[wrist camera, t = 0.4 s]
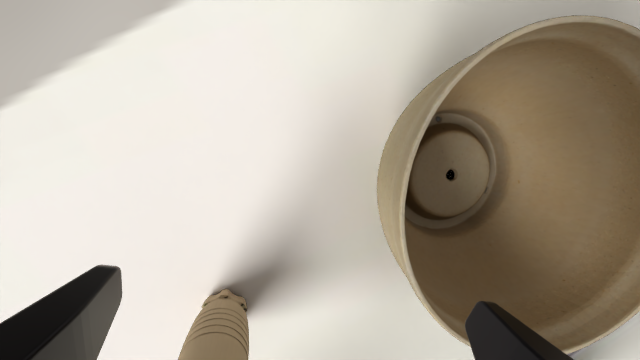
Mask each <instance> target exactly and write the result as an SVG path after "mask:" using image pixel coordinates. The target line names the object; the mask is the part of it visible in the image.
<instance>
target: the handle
mask: <svg viewBox="0 0 640 360" xmlns="http://www.w3.org/2000/svg"><path fill="white" fill-rule="evenodd" d="M202 308H203V309H202V310H201V312H200V313H199V315H198V316H197V317H196V319H195V321H194V323H193V325H192V327H191V329H190V331H189V333H188V335H187V337H186V340H185V342H184V344H183V347H182V350H181V352H180V355H179V358H178V360H248V354H249V329H248V321H247V315H246V313H245V312H246V311H247V305H246V301H245V299H244V298H243V297H241V296H240V297H239V296H236V295H234V294H233V293H231V292H230V290H229V289H224V290H222V291H221V292H220V293H219V294H217V295H211V296H209V297H208V298H207V299H206V300H205V302H204V304H203V305H202Z"/></svg>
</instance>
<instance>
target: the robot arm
mask: <svg viewBox="0 0 640 360" xmlns="http://www.w3.org/2000/svg"><path fill="white" fill-rule="evenodd" d="M121 298H122V280H121V270H120V268H119V267H117V266H109V265H98V266H95V267H94V268H92V269H90V270H89V271H87V272H85V273H84V274H82V275H80V276H79V277H77V278H75V279H73V280H72V281H70V282H68V283H67V284H65V285H63V286H62V287H60V288H58V289H57V290H55V291H53V292H52V293H50V294H48V295H47V296H45V297H43V298H42V299H40V300H38V301H37V302H35V303H33V304H32V305H30V306H28V307H27V308H25V309H23V310H22V311H20V312H18V313H17V314H15V315H13V316H12V317H10V318H8V319H7V320H5V321H3V322H2V323H0V360H97V357H98V355H99V352H100V350H101V348H102V345H103V343H104V341H105V338H106V336H107V334H108V331H109V329H110V327H111V324H112V322H113V319H114V317H115V315H116V312H117V310H118V308H119V305H120V302H121ZM465 330H466V333H467V336H468V339H469V342H470V345H471V348H472V351H473V355H474V358H475V360H573V359H572V358H571V357H569V356H568V355H567V354H565V353H564V352H562V351H561V350H560V349H558V348H557V347H555V346H554V345H553V344H551V343H550V342H549V341H547V340H546V339H544V338H543V337H542V336H540V335H539V334H538V333H536V332H535V331H533V330H532V329H531V328H529V327H528V326H527V325H525V324H524V323H522V322H521V321H520V320H518V319H517V318H516V317H514V316H513V315H511V314H510V313H509V312H507V311H506V310H504V309H503V308H502V307H500V306H499V305H498V304H496V303H494V302H490V301H479V302H477V303H476V304H475V306H474V308H473V309H472V311H471V313H470V314H469V316H468V317H467V319H466V321H465Z"/></svg>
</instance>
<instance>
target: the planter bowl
mask: <svg viewBox="0 0 640 360" xmlns="http://www.w3.org/2000/svg"><path fill="white" fill-rule="evenodd" d="M449 170H453V172H454V178H453V179H452V180H449V179H447V177H446V174H447V172H448V171H449ZM377 200H378V209H379V215H380V220H381V224H382V227H383V231H384V234H385V237H386V240H387V242H388V245H389V247H390V249H391V251H392V253H393V255H394V257H395V259H396V261H397V262H398V264H399V266H400V268H401V269H402V271H403V272H404V274H405V275H406V277H407V278H408V280H409V282H410V284H411V286H412V288H413V290H414V291H415V293H416V295H417V297H418V298H419V300H420V301H421V302H422V304H423V305H424V307H425V308H426V309H427V310H428V312H429V313H430V314H431V315H432V317H433V318H434V319H435V320H436V321H437V322H438V323H439V324H440V325H441V326H442V327H443V328H444V329H445V330H447V331H448V332H449V333H450V334H451V335H452V336H454V337H455V338H457V339H458V340H459V341H461V342H463V343H465V344H466V345H468V346H470V347H471V345H470V342H469V339H468V336H467V333H466V330H465V321H466V319H467V317H468V316H469V314H470V313H471V311H472V309H473V308H474V306H475V304H476V303H477V302H479V301H490V302H494V303H496V304H498V305H499V306H500V307H502V308H503V309H504V310H506V311H507V312H509V313H510V314H511V315H513V316H514V317H516V318H517V319H518V320H520V321H521V322H522V323H524V324H525V325H527V326H528V327H529V328H531V329H532V330H533V331H535V332H536V333H538V334H539V335H540V336H542V337H543V338H544V339H546V340H547V341H549V342H550V343H551V344H553V345H554V346H555V347H557V348H558V349H560V350H561V351H562V352H564V353H565V354H569V353H572V352H574V351H577V350H580V349H582V348H584V347H587V346H589V345H591V344H592V343H594V342H596V341H598V340H600V339H602V338H603V337H605V336H607V335H608V334H610V333H612V332H613V331H615V330H616V329H617V328H619V327H620V326H622V325H623V324H624V323H626V322H627V321H628V320H630V319H631V318H632V317H633V316H634V315H635V314H637V313H638V312H639V311H640V30H639V29H637V28H636V27H633V26H631V25H628V24H625V23H623V22H620V21H617V20H613V19H609V18H603V17H596V16H565V17H558V18H552V19H547V20H543V21H539V22H536V23H533V24H530V25H527V26H525V27H523V28H520V29H518V30H515V31H513V32H511V33H509V34H506V35H505V36H503V37H501V38H499V39H497V40H495V41H494V42H492V43H490V44H489V45H487V46H486V47H484V48H482V49H481V50H480V51H478V52H477V53H476V54H474V55H472V56H470V57H468V58H466V59H464V60H463V61H461V62H459V63H457V64H456V65H454V66H453V67H451V68H450V69H448V70H447V71H445V72H444V73H443V74H441V75H440V76H439V77H437V78H436V79H435V80H433V81H432V82H431V83H430V84H429V85H428V86H426V87H425V88H424V89H423V90H422V91H421V92H420V93H419V94H418V95H417V96H416V97H415V98H414V99H413V100H412V102H411V103H410V104H409V105H408V106H407V108H406V109H405V110H404V112H403V113H402V115H401V116H400V117H399V119H398V120H397V122H396V124H395V126H394V127H393V129H392V131H391V133H390V135H389V137H388V140H387V142H386V144H385V147H384V150H383V153H382V157H381V161H380V166H379V171H378V179H377Z"/></svg>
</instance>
